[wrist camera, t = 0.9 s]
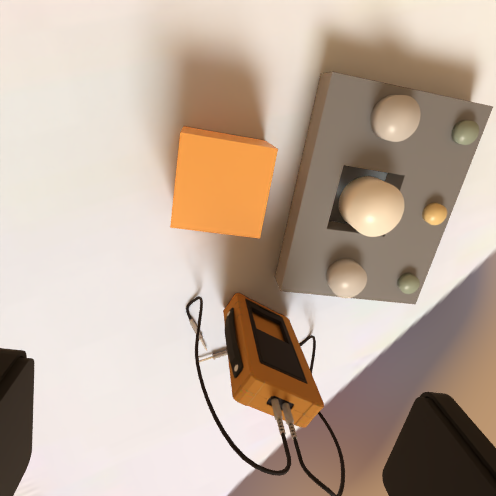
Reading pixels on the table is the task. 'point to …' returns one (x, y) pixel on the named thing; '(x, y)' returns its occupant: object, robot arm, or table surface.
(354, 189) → the button
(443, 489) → the robot arm
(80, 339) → the table surface
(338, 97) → the grey flat block
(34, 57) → the table surface
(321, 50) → the table surface
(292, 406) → the multimeter
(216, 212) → the orange block
